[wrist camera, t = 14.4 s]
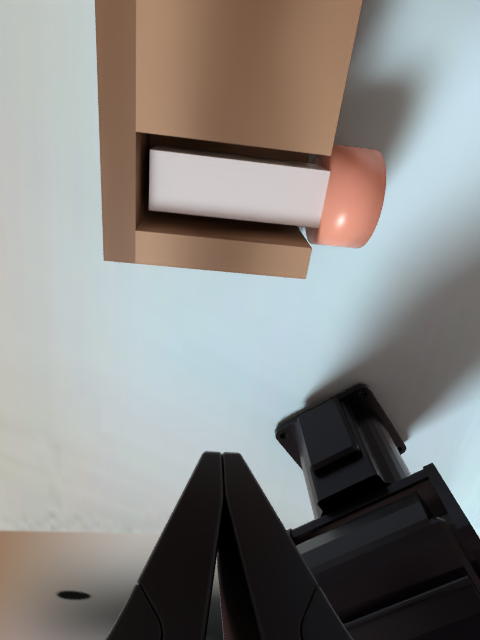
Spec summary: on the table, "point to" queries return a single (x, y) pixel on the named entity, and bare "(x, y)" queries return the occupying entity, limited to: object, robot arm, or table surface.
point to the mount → (214, 115)
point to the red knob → (275, 190)
